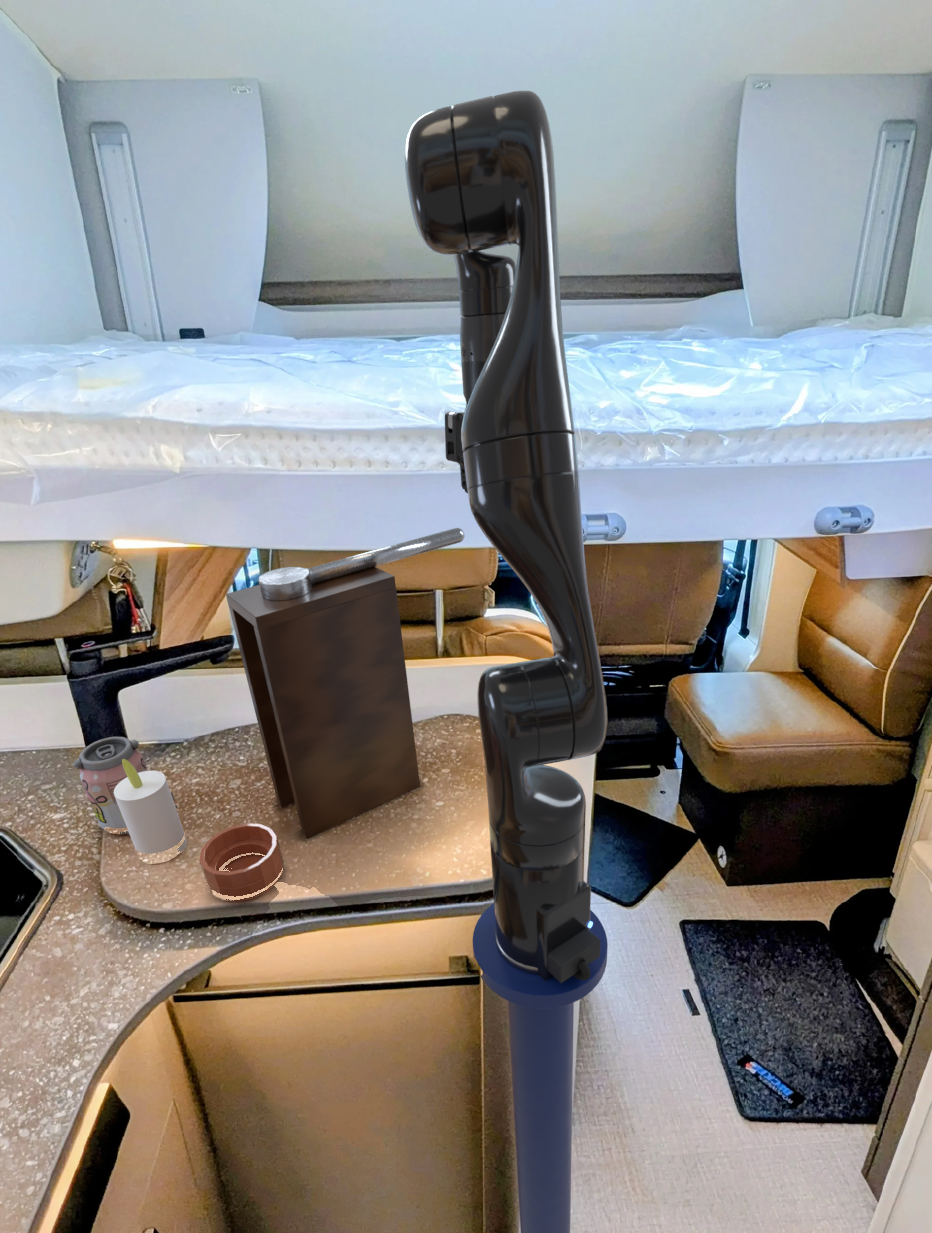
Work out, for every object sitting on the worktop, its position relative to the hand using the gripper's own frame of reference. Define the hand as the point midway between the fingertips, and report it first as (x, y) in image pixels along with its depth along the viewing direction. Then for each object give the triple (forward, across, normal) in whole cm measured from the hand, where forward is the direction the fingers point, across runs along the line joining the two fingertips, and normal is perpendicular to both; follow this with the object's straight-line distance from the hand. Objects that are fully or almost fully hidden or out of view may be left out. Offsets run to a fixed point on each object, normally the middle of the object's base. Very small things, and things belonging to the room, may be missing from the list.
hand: (496, 486), depth 96 cm
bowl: (+38, -47, -7) cm, 61 cm away
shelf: (+38, -29, 0) cm, 48 cm away
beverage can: (+38, -56, +16) cm, 70 cm away
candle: (+38, -54, +6) cm, 66 cm away
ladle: (+6, -21, 0) cm, 21 cm away
